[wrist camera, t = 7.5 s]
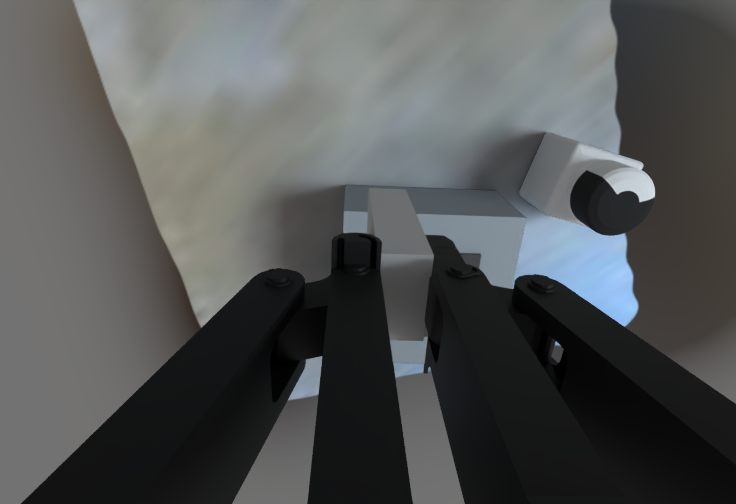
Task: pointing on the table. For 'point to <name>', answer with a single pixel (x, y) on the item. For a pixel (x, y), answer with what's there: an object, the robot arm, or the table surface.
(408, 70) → the table surface
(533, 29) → the table surface
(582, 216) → the container
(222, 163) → the table surface
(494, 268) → the socket block
